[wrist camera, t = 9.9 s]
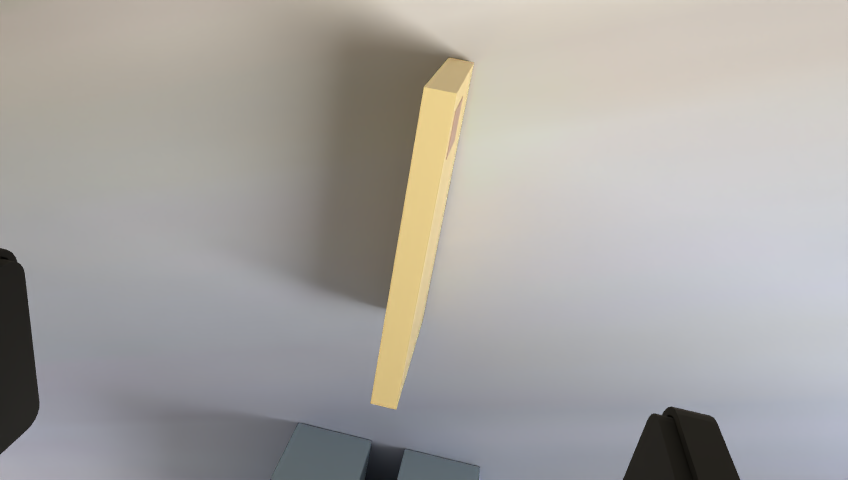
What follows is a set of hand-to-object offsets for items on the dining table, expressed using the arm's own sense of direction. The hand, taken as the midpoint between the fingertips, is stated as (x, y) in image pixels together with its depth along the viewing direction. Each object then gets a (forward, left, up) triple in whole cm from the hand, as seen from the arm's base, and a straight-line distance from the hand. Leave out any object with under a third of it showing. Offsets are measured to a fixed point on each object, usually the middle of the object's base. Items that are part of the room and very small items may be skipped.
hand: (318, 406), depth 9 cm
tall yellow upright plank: (0, +3, -18) cm, 18 cm away
